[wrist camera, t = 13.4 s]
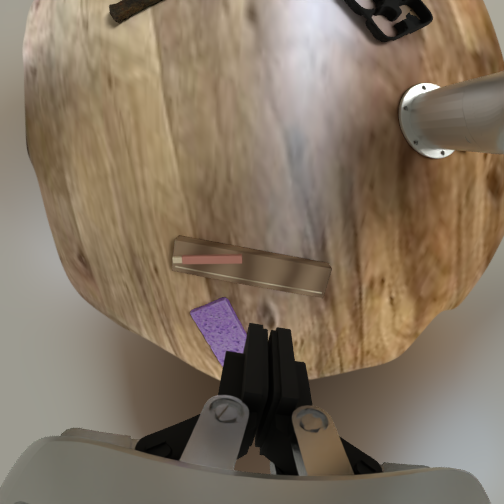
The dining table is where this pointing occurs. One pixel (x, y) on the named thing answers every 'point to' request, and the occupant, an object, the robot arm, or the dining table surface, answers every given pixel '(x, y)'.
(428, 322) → the dining table surface
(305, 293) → the walnut board
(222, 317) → the sponges
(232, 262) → the carpenters pencil
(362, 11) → the black openwork frame
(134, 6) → the hand tool
